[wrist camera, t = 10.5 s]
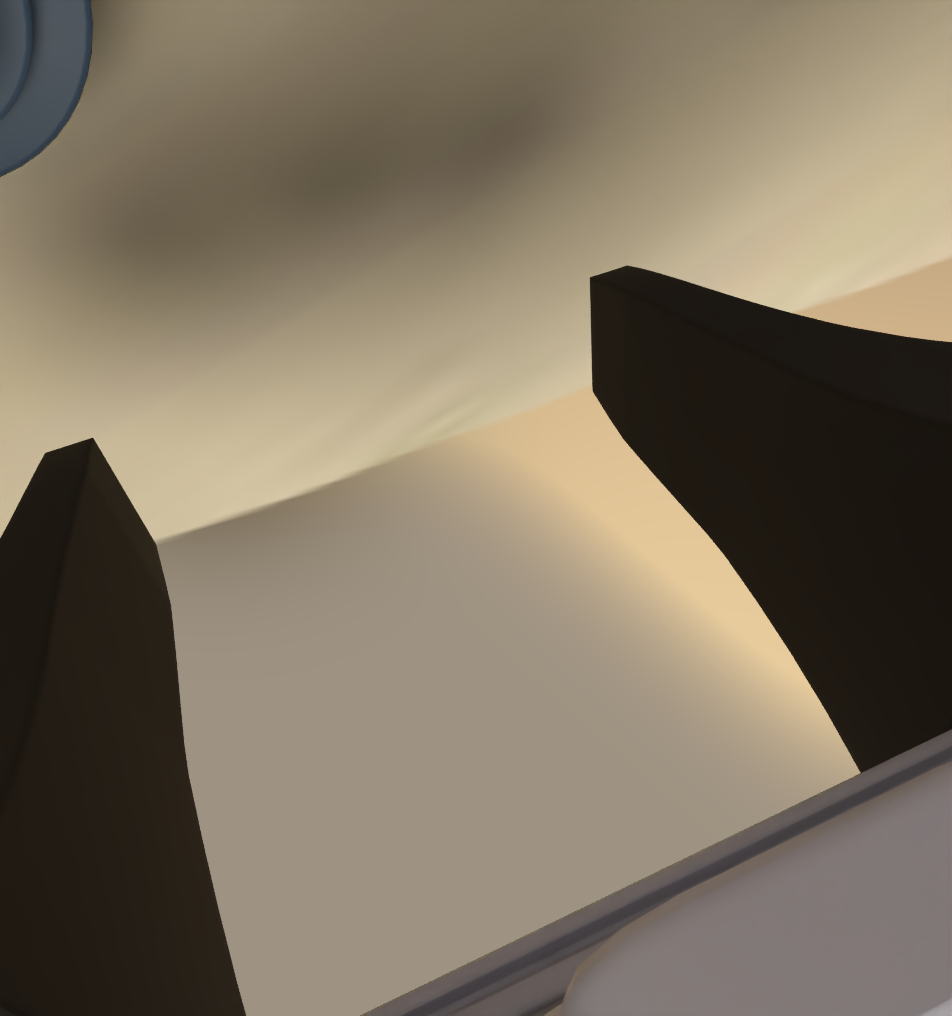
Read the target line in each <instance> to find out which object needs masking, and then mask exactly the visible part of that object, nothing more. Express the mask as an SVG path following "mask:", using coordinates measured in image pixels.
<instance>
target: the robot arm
mask: <svg viewBox="0 0 952 1016" xmlns="http://www.w3.org/2000/svg"><path fill="white" fill-rule="evenodd" d="M590 301H591V344H592V386H593V392H594V394H595V396H596V397H597V399H598V400H599V402H600V404H601V405H602V407H603V409H604V410H605V412H606V413H607V415H608V417H609V418H610V420H611V421H612V423H613V424H614V426H615V427H616V428H617V430H618V432H619V433H620V435H621V436H622V438H623V439H624V440H625V441H626V443H627V444H628V445H629V446H630V447H631V449H632V450H633V451H634V452H635V453H636V454H637V456H638V457H639V458H640V459H641V460H642V461H643V462H644V464H646V466H647V467H648V468H649V469H650V470H651V472H652V473H653V474H654V475H655V476H656V477H657V478H658V479H659V480H660V481H661V483H662V484H663V485H664V486H665V487H666V488H667V490H668V491H669V492H670V493H671V494H672V495H673V496H674V497H675V498H676V500H677V501H678V502H679V503H680V504H681V505H682V506H683V507H684V509H685V510H686V511H687V512H688V513H689V514H690V515H691V516H692V518H693V519H694V520H695V521H696V522H697V523H698V524H699V525H700V526H701V528H702V529H703V530H704V531H705V532H706V533H707V534H708V535H709V537H710V538H711V539H712V540H713V542H714V543H715V544H716V545H717V547H718V548H719V549H720V550H721V552H722V553H723V554H724V555H725V557H726V558H727V559H728V560H729V562H730V564H731V565H732V567H733V568H734V569H735V571H736V572H737V574H738V575H739V576H740V578H741V579H742V581H743V582H744V584H745V585H746V586H747V588H748V589H749V591H750V592H751V593H752V595H753V597H754V598H755V599H756V601H757V602H758V604H759V605H760V607H761V608H762V610H763V611H764V613H765V614H766V616H767V617H768V619H769V620H770V622H771V624H772V625H773V627H774V628H775V630H776V631H777V633H778V634H779V636H780V637H781V639H782V640H783V642H784V643H785V645H786V646H787V648H788V649H789V651H790V652H791V654H792V656H793V657H794V659H795V661H796V662H797V664H798V666H799V667H800V669H801V671H802V672H803V674H804V675H805V677H806V679H807V680H808V682H809V684H810V685H811V687H812V689H813V690H814V692H815V693H816V695H817V697H818V698H819V700H820V702H821V703H822V705H823V707H824V708H825V710H826V712H827V713H828V715H829V717H830V719H831V721H832V722H833V724H834V726H835V728H836V730H837V731H838V733H839V735H840V736H841V738H842V740H843V742H844V744H845V745H846V747H847V749H848V751H849V753H850V754H851V756H852V758H853V760H854V762H855V763H856V765H857V767H858V769H859V771H860V772H861V773H860V774H858V775H856V776H854V777H852V778H850V779H848V780H846V781H844V782H842V783H840V784H838V785H836V786H833V787H832V788H829V789H827V790H825V791H823V792H821V793H819V794H817V795H815V796H813V797H811V798H809V799H807V800H805V801H803V802H800V803H799V804H796V805H794V806H792V807H790V808H788V809H786V810H784V811H782V812H780V813H778V814H776V815H774V816H772V817H770V818H767V819H765V820H763V821H761V822H760V823H757V824H755V825H753V826H751V827H749V828H747V829H745V830H743V831H741V832H739V833H736V834H734V835H732V836H730V837H728V838H726V839H724V840H722V841H720V842H718V843H716V844H714V845H712V846H710V847H708V848H705V849H703V850H701V851H699V852H697V853H695V854H693V855H691V856H689V857H687V858H685V859H683V860H681V861H679V862H676V863H674V864H672V865H670V866H668V867H666V868H664V869H662V870H660V871H658V872H656V873H654V874H652V875H650V876H648V877H646V878H643V879H641V880H639V881H637V882H635V883H633V884H631V885H629V886H627V887H625V888H623V889H621V890H619V891H617V892H615V893H613V894H610V895H608V896H606V897H604V898H602V899H600V900H598V901H596V902H594V903H592V904H590V905H588V906H586V907H584V908H581V909H580V910H577V911H575V912H573V913H571V914H569V915H567V916H565V917H563V918H561V919H559V920H557V921H555V922H553V923H550V924H548V925H546V926H544V927H542V928H540V929H538V930H536V931H534V932H532V933H530V934H528V935H526V936H524V937H522V938H520V939H517V940H515V941H513V942H511V943H509V944H507V945H505V946H503V947H501V948H499V949H497V950H495V951H493V952H491V953H489V954H486V955H484V956H482V957H480V958H478V959H476V960H474V961H472V962H470V963H468V964H466V965H464V966H462V967H460V968H458V969H456V970H453V971H451V972H449V973H447V974H445V975H443V976H441V977H439V978H437V979H435V980H433V981H431V982H429V983H427V984H424V985H423V986H420V987H418V988H416V989H414V990H412V991H410V992H408V993H406V994H404V995H402V996H400V997H398V998H396V999H393V1000H392V1001H389V1002H387V1003H385V1004H383V1005H381V1006H379V1007H377V1008H375V1009H373V1010H371V1011H369V1012H367V1013H365V1014H362V1015H360V1016H952V342H943V341H934V340H926V339H919V338H911V337H904V336H898V335H892V334H887V333H881V332H875V331H869V330H864V329H858V328H852V327H848V326H843V325H838V324H834V323H829V322H825V321H821V320H817V319H813V318H809V317H805V316H801V315H797V314H793V313H789V312H785V311H781V310H778V309H774V308H771V307H767V306H764V305H760V304H757V303H753V302H750V301H747V300H743V299H740V298H737V297H734V296H730V295H727V294H724V293H721V292H717V291H714V290H711V289H708V288H705V287H702V286H699V285H695V284H692V283H689V282H686V281H683V280H680V279H676V278H673V277H670V276H666V275H663V274H660V273H656V272H653V271H649V270H645V269H641V268H636V267H632V266H624V267H621V268H618V269H615V270H612V271H609V272H606V273H603V274H599V275H596V276H593V277H590ZM180 705H181V704H180V694H179V683H178V671H177V661H176V650H175V641H174V630H173V620H172V611H171V604H170V600H169V596H168V591H167V586H166V582H165V578H164V574H163V570H162V566H161V562H160V558H159V554H158V551H157V546H156V544H155V542H154V540H153V539H152V537H151V535H150V533H149V532H148V530H147V528H146V527H145V525H144V523H143V522H142V520H141V518H140V517H139V515H138V513H137V511H136V510H135V508H134V506H133V505H132V503H131V501H130V500H129V498H128V496H127V494H126V493H125V491H124V489H123V488H122V486H121V484H120V483H119V481H118V479H117V478H116V476H115V474H114V472H113V471H112V469H111V467H110V466H109V464H108V462H107V461H106V459H105V457H104V456H103V454H102V452H101V450H100V449H99V447H98V445H97V444H96V442H95V440H94V439H93V438H91V439H87V440H84V441H81V442H78V443H75V444H72V445H69V446H66V447H63V448H60V449H56V450H53V451H50V452H47V453H45V455H44V456H43V458H42V460H41V462H40V463H39V465H38V467H37V469H36V471H35V473H34V475H33V477H32V479H31V481H30V483H29V485H28V487H27V489H26V490H25V492H24V494H23V496H22V498H21V500H20V502H19V504H18V506H17V508H16V510H15V512H14V514H13V516H12V518H11V520H10V521H9V523H8V525H7V527H6V529H5V531H4V533H3V535H2V536H1V538H0V1016H246V1014H245V1010H244V1006H243V1003H242V999H241V995H240V992H239V988H238V984H237V981H236V977H235V973H234V969H233V965H232V961H231V957H230V953H229V949H228V945H227V941H226V937H225V933H224V929H223V925H222V921H221V917H220V913H219V909H218V905H217V901H216V896H215V892H214V888H213V883H212V880H211V875H210V871H209V866H208V862H207V858H206V854H205V849H204V844H203V840H202V836H201V831H200V826H199V822H198V817H197V812H196V807H195V803H194V798H193V793H192V789H191V784H190V779H189V774H188V767H187V760H186V754H185V746H184V737H183V726H182V715H181V706H180Z"/></svg>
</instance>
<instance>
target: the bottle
mask: <svg viewBox="0 0 952 1016" xmlns="http://www.w3.org/2000/svg"><path fill="white" fill-rule="evenodd" d="M92 33H93V21H92V10H91V0H0V177H1V176H3V175H5V174H7V173H9V172H11V171H13V170H15V169H17V168H19V167H21V166H23V165H24V164H26V163H27V162H28V161H30V160H31V159H33V158H34V157H35V156H37V155H38V154H40V153H41V152H42V151H43V150H44V149H45V148H46V147H47V146H48V145H49V144H50V143H51V142H52V141H53V140H54V139H55V138H56V137H57V136H58V134H59V133H60V131H61V130H62V129H63V127H64V126H65V125H66V123H67V122H68V121H69V119H70V117H71V115H72V113H73V111H74V109H75V108H76V106H77V104H78V102H79V100H80V97H81V94H82V91H83V88H84V85H85V82H86V79H87V76H88V70H89V65H90V59H91V53H92Z"/></svg>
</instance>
